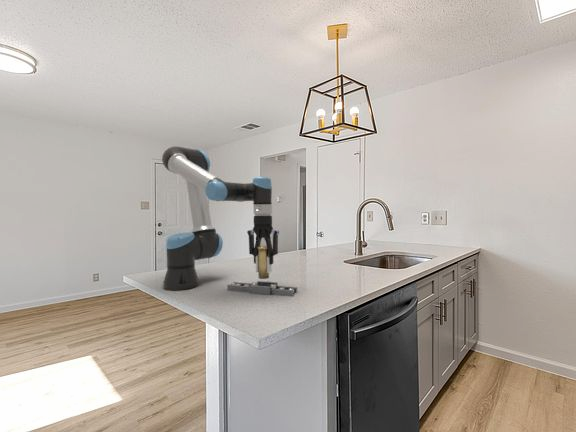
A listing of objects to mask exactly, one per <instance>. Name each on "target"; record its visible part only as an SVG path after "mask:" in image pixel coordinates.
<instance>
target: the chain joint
mask: <svg viewBox="0 0 576 432" xmlns="http://www.w3.org/2000/svg"><path fill="white" fill-rule="evenodd" d="M278 284H279V283H278V281H277V282H275V281H263V280H257V281H256V282H252V283H249V282H238V281H237V282H236V281H233V282H232V283H230V284H227V285H226V287H227V289H226V290H227V291H232V292H233V291H235V292H243V293H244V292H245V293H249V294H255V295H264V296H265V295H267V296H271V295H276V296H287V297H293V296H294V295H295V294H297V293H298V287H297V286H285V285H278Z"/></svg>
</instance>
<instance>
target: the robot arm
mask: <svg viewBox="0 0 576 432" xmlns="http://www.w3.org/2000/svg"><path fill="white" fill-rule="evenodd" d="M161 162H162V164H163V166H164V168H165V169H166V170H167V171H169V172H171V173H172V174H175V175H179V176H181V177H182V178H183V179H184V180H185V182H186V187H187V195H188V201H189V208H190V213H191V214H190V215H191V220H192V230H191V231H190V232H182V233H181V232H180V233H179V232H178V233H175V234H172V235H170V236H168V237H167V238H166V267H167V268H166V273H165V276H164V278H163V279H164V281H162V287H163V289H164V290H167V291H183V290H184V291H185V290H190V289H194V288H196V287H198V286H199V285H200V279H199V277H198V272H197V270H196V266H195V265H196V264H195V263H196V262H195V261H199V260H204V259H211V258H214V257H218V255H220V254H221V252H222V249H223V244H224V243H223V242H224V241H223V238H222V236H221V235H220V234H219V233H217V231H216V228H215V227H214V226H213V225H212V219H211V213H210V206H209V200H211V201H213V202H240V203H241V202H253V203H252V204H253V205H252V206H253V228H252V229H250V230H247V231H246V232H247V235H248V253H249V255H251V256H253V264H254V265H255V273H258V249H257V246H261V242H262V240H263V239H264V241H265V244H266V246H267V250H268V254H269V256H268V257H267V273H269V274H270V273H272V270H273V269H272V267H273V266H272V265H273V264H274V256H276V255H278V254H279V251H278V250H279V247H278V246H279V245H278V244H279V242H278V241H279V233H280V231H279V230H276V229H274V228H273V215H272V214H273V205H272V197H273V196H272V195H273V194H272V192H273V191H272V190H273V188H272V180H271V177H267V176H255V177H253V179H252V182H249V183H243V182H241V183H240V182H231V181H230V182H229V181H224V180H222V179H221V178H219V177H218V176H216V175H214V174H213V173H210V172H209V170H210V168H211V161H210V157H209V156H208V154H207V153H206V152H205V151H202V150H200V149H194V148H188V147H182V146H171V147H168V148H167V149H165V150H164V152H163V154H162V157H161ZM271 234H272V237H271ZM271 238H272V241H271Z"/></svg>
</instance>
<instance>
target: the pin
mask: <svg viewBox="0 0 576 432" xmlns="http://www.w3.org/2000/svg"><path fill="white" fill-rule="evenodd" d="M257 249H258V272H257V273H258V277H257V278H258V279H259V280H266V279H270V273H267V257H268V256H269V254H268V250H267V245H260V246H257Z"/></svg>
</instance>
